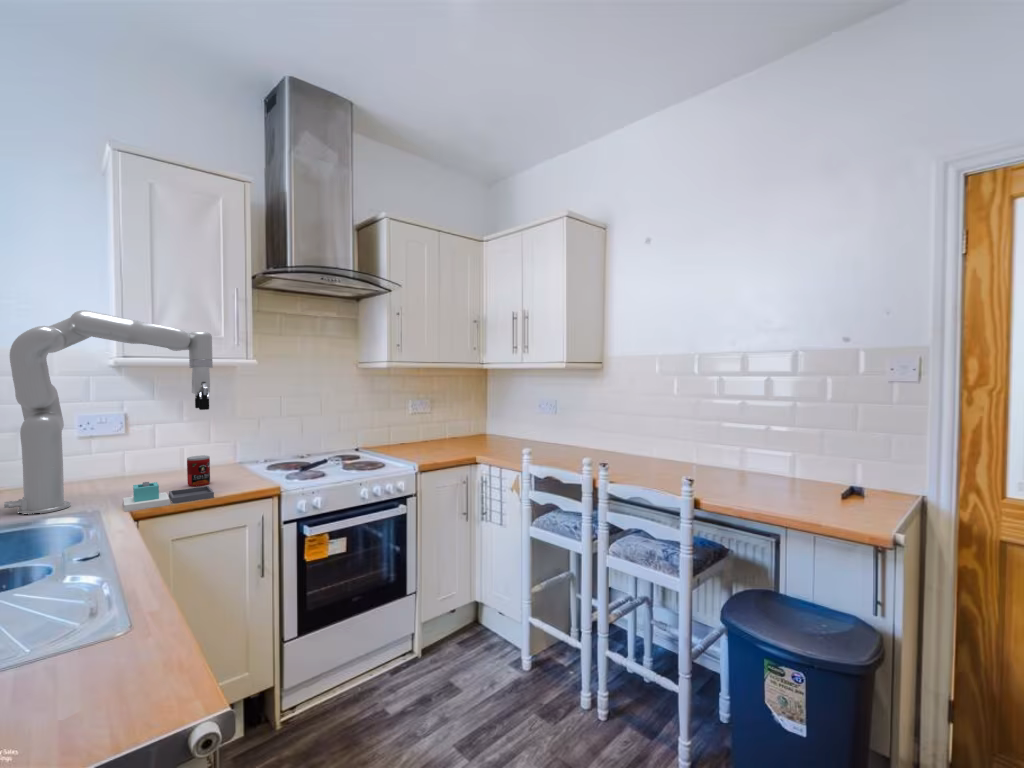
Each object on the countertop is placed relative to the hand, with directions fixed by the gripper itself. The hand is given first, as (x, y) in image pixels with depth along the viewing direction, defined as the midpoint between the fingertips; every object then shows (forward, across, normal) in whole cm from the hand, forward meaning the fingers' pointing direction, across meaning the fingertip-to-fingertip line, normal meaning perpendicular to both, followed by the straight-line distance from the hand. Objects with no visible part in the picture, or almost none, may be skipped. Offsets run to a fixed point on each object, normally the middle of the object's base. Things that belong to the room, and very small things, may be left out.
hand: (202, 408), depth 187 cm
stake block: (+31, +14, -19) cm, 38 cm away
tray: (+31, +13, -6) cm, 34 cm away
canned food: (+31, -8, -1) cm, 32 cm away
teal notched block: (+29, +14, -19) cm, 37 cm away
